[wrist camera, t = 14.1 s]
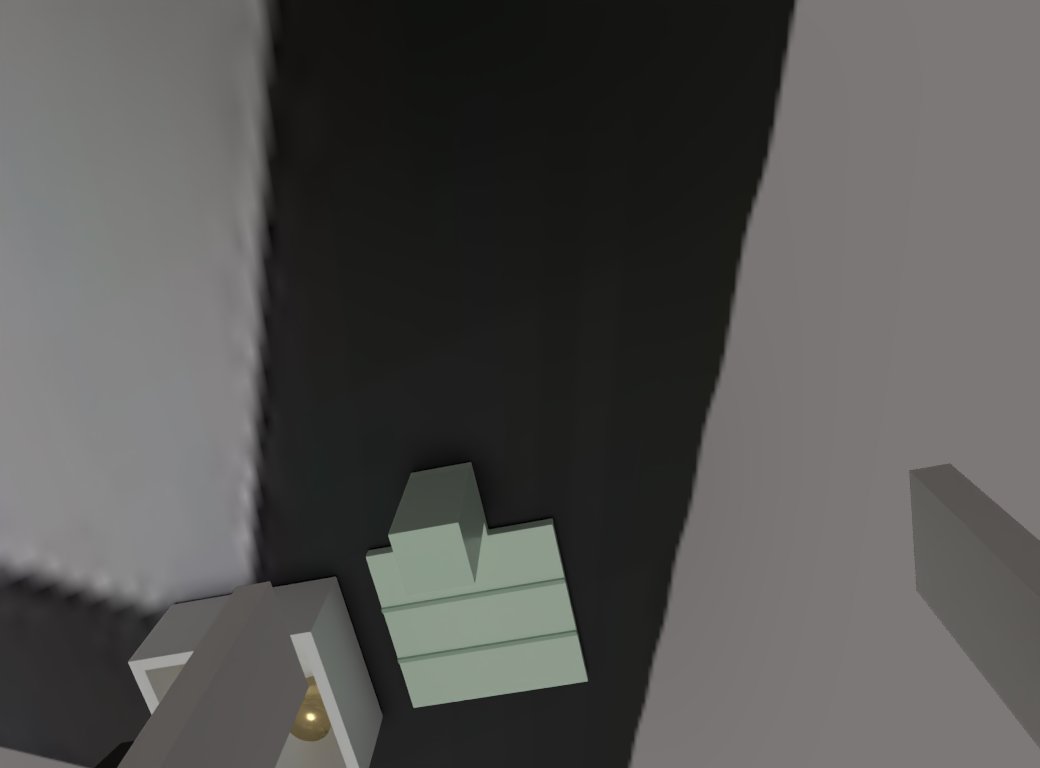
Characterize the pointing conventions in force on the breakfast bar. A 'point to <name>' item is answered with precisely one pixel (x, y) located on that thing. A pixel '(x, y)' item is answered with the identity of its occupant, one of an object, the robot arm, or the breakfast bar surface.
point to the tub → (322, 653)
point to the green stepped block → (473, 596)
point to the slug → (311, 716)
